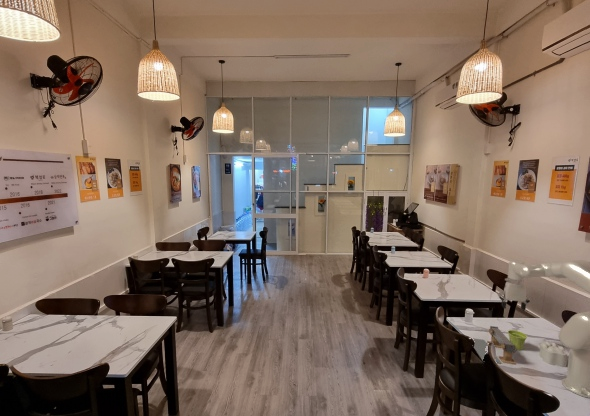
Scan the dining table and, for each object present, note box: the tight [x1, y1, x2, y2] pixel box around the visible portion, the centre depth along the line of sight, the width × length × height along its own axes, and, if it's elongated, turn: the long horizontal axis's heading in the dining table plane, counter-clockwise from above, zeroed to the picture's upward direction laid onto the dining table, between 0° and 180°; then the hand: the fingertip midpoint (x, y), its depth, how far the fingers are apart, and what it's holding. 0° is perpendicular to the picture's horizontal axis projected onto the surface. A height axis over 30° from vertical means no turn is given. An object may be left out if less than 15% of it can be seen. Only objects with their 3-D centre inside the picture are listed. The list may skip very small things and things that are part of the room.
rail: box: [489, 325, 516, 354], centre depth 165 cm, size 22×4×4 cm, turn 166°
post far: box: [486, 328, 502, 349], centre depth 173 cm, size 5×6×9 cm
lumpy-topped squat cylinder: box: [539, 341, 568, 368], centre depth 160 cm, size 10×13×9 cm
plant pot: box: [507, 329, 528, 351], centre depth 171 cm, size 9×9×9 cm
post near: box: [498, 343, 517, 366], centre depth 158 cm, size 5×6×9 cm
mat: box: [473, 337, 502, 364], centre depth 168 cm, size 24×9×1 cm, turn 166°
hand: (513, 308), depth 169 cm, fingers open, 9 cm apart
